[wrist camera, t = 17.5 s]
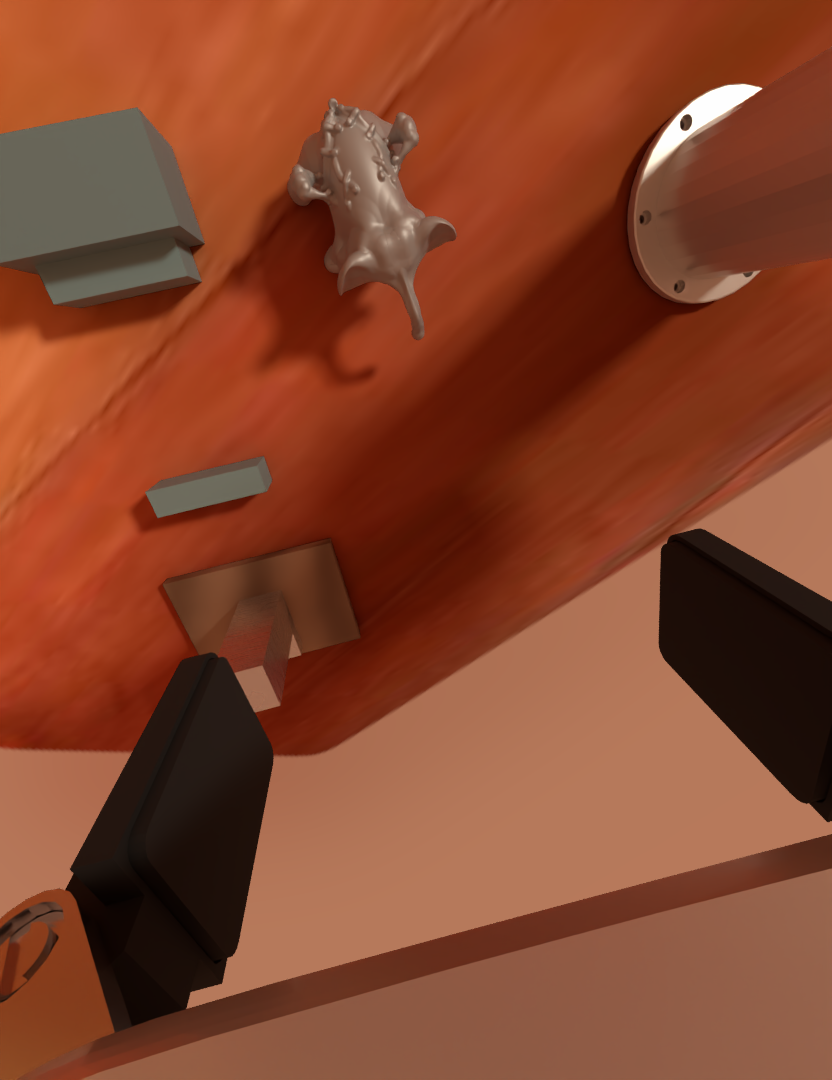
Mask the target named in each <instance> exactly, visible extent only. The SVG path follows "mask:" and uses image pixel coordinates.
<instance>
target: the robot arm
mask: <svg viewBox="0 0 832 1080" xmlns="http://www.w3.org/2000/svg"><path fill="white" fill-rule="evenodd" d="M639 218H640V220H641V221H640V220H639ZM627 231H628V239H629V247H630V250H631V254H632V257H633V260H634V264H635V266H636V267H637V269H638V271H639V273H640V275H641V277H642V279H643V280H644V281H645V282H646V283H647V284H648V286H649V287H650V288H651V289H652V290H653V291H655V292H656V293H658V294H659V295H660V296H662V297H663V298H666V299H668V300H671V301H673V302H676V303H685V304H695V303H706V302H710V301H714V300H719V299H721V298H723V297H725V296H728V295H730V294H732V293H734V292H736V291H737V290H739V289H740V288H741V287H743V286H744V285H746V284H747V283H749V282H750V281H751V280H752V279H753V278H754V277H755V276H756V275H757V274H758V273H759V272H760V271H761V270H766V269H771V268H777V267H783V266H789V265H795V264H800V263H806V262H812V261H818V260H824V259H829V258H832V47H831V48H829V49H827V50H826V51H824V52H822V53H821V54H819V55H817V56H816V57H814V58H812V59H811V60H809V61H807V62H806V63H804V64H802V65H801V66H799V67H797V68H796V69H794V70H792V71H791V72H789V73H787V74H786V75H784V76H783V77H781V78H779V79H778V80H776V81H774V82H773V83H771V84H769V85H768V86H766V87H764V88H761V87H759V86H754V85H749V84H745V83H740V84H726V85H723V86H720V87H717V88H714V89H711V90H709V91H707V92H705V93H704V94H702V95H700V96H699V97H697V98H695V99H694V100H692V101H691V102H689V103H688V104H687V105H685V106H684V107H683V108H681V109H680V110H679V111H677V112H676V113H675V114H674V115H673V116H672V117H671V118H670V119H669V120H668V121H667V122H666V123H665V125H664V126H663V127H662V128H661V129H660V130H659V132H658V133H657V135H656V136H655V138H654V139H653V141H652V142H651V143H650V145H649V146H648V148H647V150H646V152H645V154H644V156H643V158H642V161H641V163H640V165H639V167H638V170H637V173H636V176H635V179H634V182H633V185H632V188H631V194H630V200H629V205H628V220H627ZM659 648H660V652H661V654H662V656H663V658H664V659H665V661H666V662H667V663H668V664H669V665H670V666H671V667H672V668H673V669H674V670H675V671H676V672H677V673H678V675H679V676H680V677H681V678H682V679H683V680H684V681H685V682H686V683H687V684H688V685H689V686H690V687H691V688H692V689H693V691H694V692H695V693H696V694H697V695H698V696H699V697H700V698H701V699H702V700H703V701H704V702H705V703H706V704H707V705H708V706H709V708H711V710H713V712H714V713H715V714H716V715H717V716H718V717H719V718H720V719H721V720H722V721H723V722H724V723H725V724H726V726H728V728H729V729H730V730H731V731H732V732H733V733H734V734H735V735H736V736H737V737H738V738H739V739H740V740H741V741H742V742H743V743H744V744H745V746H746V747H747V748H748V749H749V750H750V751H751V752H752V753H753V754H754V755H755V756H756V757H757V758H758V759H759V760H760V762H761V763H762V764H763V765H764V766H765V767H766V768H767V769H768V770H769V771H770V772H771V773H772V774H773V775H774V776H775V777H776V779H777V780H778V781H779V782H781V784H782V785H783V786H784V787H785V788H786V789H787V790H788V791H789V792H790V793H791V794H792V795H793V796H794V797H795V798H796V799H797V800H799V801H800V802H803V803H806V804H807V803H809V804H810V805H811V806H812V807H813V808H814V809H815V810H816V811H817V812H818V813H819V814H820V815H821V816H822V817H823V818H824V819H825V820H826V821H827V822H830V821H832V602H831V601H830V600H828V599H826V598H824V597H822V596H821V595H819V594H817V593H815V592H814V591H812V590H810V589H808V588H806V587H805V586H803V585H801V584H800V583H798V582H796V581H794V580H792V579H791V578H789V577H787V576H785V575H784V574H782V573H780V572H778V571H776V570H775V569H773V568H771V567H769V566H768V565H766V564H764V563H762V562H761V561H759V560H757V559H755V558H754V557H752V556H750V555H748V554H746V553H745V552H743V551H741V550H739V549H737V548H736V547H734V546H732V545H731V544H729V543H727V542H725V541H723V540H722V539H720V538H718V537H716V536H715V535H713V534H711V533H709V532H707V531H706V530H703V529H694V530H691V531H687V532H683V533H679V534H675V535H672V536H670V537H669V539H668V541H667V544H664V545H663V546H662V548H661V569H660V611H659ZM272 766H273V749H272V746H271V743H270V741H269V739H268V737H267V736H266V734H265V732H264V730H263V728H262V726H261V724H260V722H259V720H258V718H257V716H256V714H255V712H254V710H253V708H252V706H251V705H250V703H249V701H248V699H247V697H246V695H245V693H244V691H243V689H242V687H241V685H240V683H239V681H238V679H237V677H236V675H235V673H234V672H233V670H232V668H231V666H230V664H229V662H228V660H227V659H226V658H225V657H218V656H217V655H216V654H215V653H212V652H210V653H206V654H202V655H198V656H194V657H190V658H186V659H184V660H182V661H181V662H180V664H179V666H178V668H177V669H176V671H175V673H174V675H173V677H172V679H171V681H170V683H169V684H168V686H167V688H166V690H165V692H164V694H163V696H162V698H161V699H160V701H159V703H158V705H157V707H156V709H155V711H154V713H153V714H152V716H151V718H150V720H149V722H148V724H147V726H146V728H145V729H144V731H143V733H142V735H141V737H140V739H139V741H138V743H137V744H136V746H135V748H134V750H133V752H132V754H131V756H130V758H129V759H128V761H127V763H126V765H125V767H124V769H123V771H122V773H121V774H120V776H119V778H118V780H117V782H116V784H115V786H114V788H113V789H112V791H111V793H110V795H109V797H108V799H107V801H106V803H105V804H104V806H103V808H102V810H101V812H100V814H99V816H98V818H97V819H96V821H95V823H94V825H93V827H92V829H91V831H90V833H89V834H88V836H87V838H86V840H85V842H84V844H83V846H82V848H81V849H80V851H79V853H78V855H77V857H76V859H75V861H74V863H73V865H72V866H71V868H70V870H71V871H72V872H73V873H74V874H73V876H72V878H71V880H70V882H69V884H68V886H67V888H66V890H62V889H54V890H48V891H44V892H41V893H39V894H37V895H35V896H33V897H31V898H28V899H26V900H25V901H23V902H22V903H20V904H19V905H17V906H16V907H15V908H13V909H12V910H10V911H9V912H7V913H6V914H5V915H4V916H3V917H2V918H1V919H0V1080H832V834H831V835H827V836H823V837H819V838H815V839H811V840H808V841H804V842H800V843H796V844H792V845H789V846H785V847H781V848H777V849H773V850H769V851H765V852H762V853H758V854H754V855H750V856H746V857H743V858H739V859H735V860H731V861H727V862H723V863H720V864H716V865H712V866H708V867H705V868H700V869H697V870H693V871H689V872H685V873H681V874H677V875H674V876H670V877H666V878H662V879H658V880H654V881H651V882H647V883H643V884H639V885H636V886H632V887H629V888H624V889H621V890H617V891H613V892H609V893H606V894H602V895H598V896H594V897H591V898H587V899H583V900H579V901H576V902H572V903H568V904H564V905H561V906H557V907H553V908H550V909H546V910H542V911H539V912H535V913H531V914H527V915H523V916H520V917H516V918H513V919H508V920H505V921H501V922H497V923H493V924H490V925H486V926H482V927H479V928H475V929H471V930H468V931H464V932H460V933H456V934H452V935H449V936H445V937H441V938H438V939H434V940H430V941H427V942H424V943H420V944H416V945H412V946H409V947H405V948H401V949H398V950H394V951H390V952H387V953H383V954H379V955H376V956H372V957H368V958H365V959H361V960H357V961H354V962H350V963H346V964H343V965H339V966H335V967H332V968H328V969H324V970H321V971H317V972H313V973H310V974H306V975H302V976H299V977H295V978H292V979H288V980H284V981H281V982H277V983H273V984H270V985H266V986H263V987H260V988H256V989H253V990H250V991H246V992H243V993H240V994H236V995H233V996H229V997H226V998H223V999H219V1000H216V1001H212V1002H209V1003H206V1004H202V1005H199V1006H196V1007H192V1008H189V1009H186V1008H187V1003H188V1000H189V996H190V992H192V991H196V990H200V989H203V988H207V987H211V986H214V985H218V984H222V982H223V976H224V971H225V967H226V961H227V958H228V957H231V956H233V954H234V953H235V951H236V949H237V946H238V942H239V938H240V932H241V927H242V922H243V917H244V912H245V907H246V901H247V896H248V891H249V886H250V881H251V875H252V870H253V865H254V860H255V855H256V849H257V844H258V839H259V833H260V829H261V824H262V818H263V813H264V808H265V803H266V797H267V792H268V787H269V782H270V777H271V772H272Z"/></svg>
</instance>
